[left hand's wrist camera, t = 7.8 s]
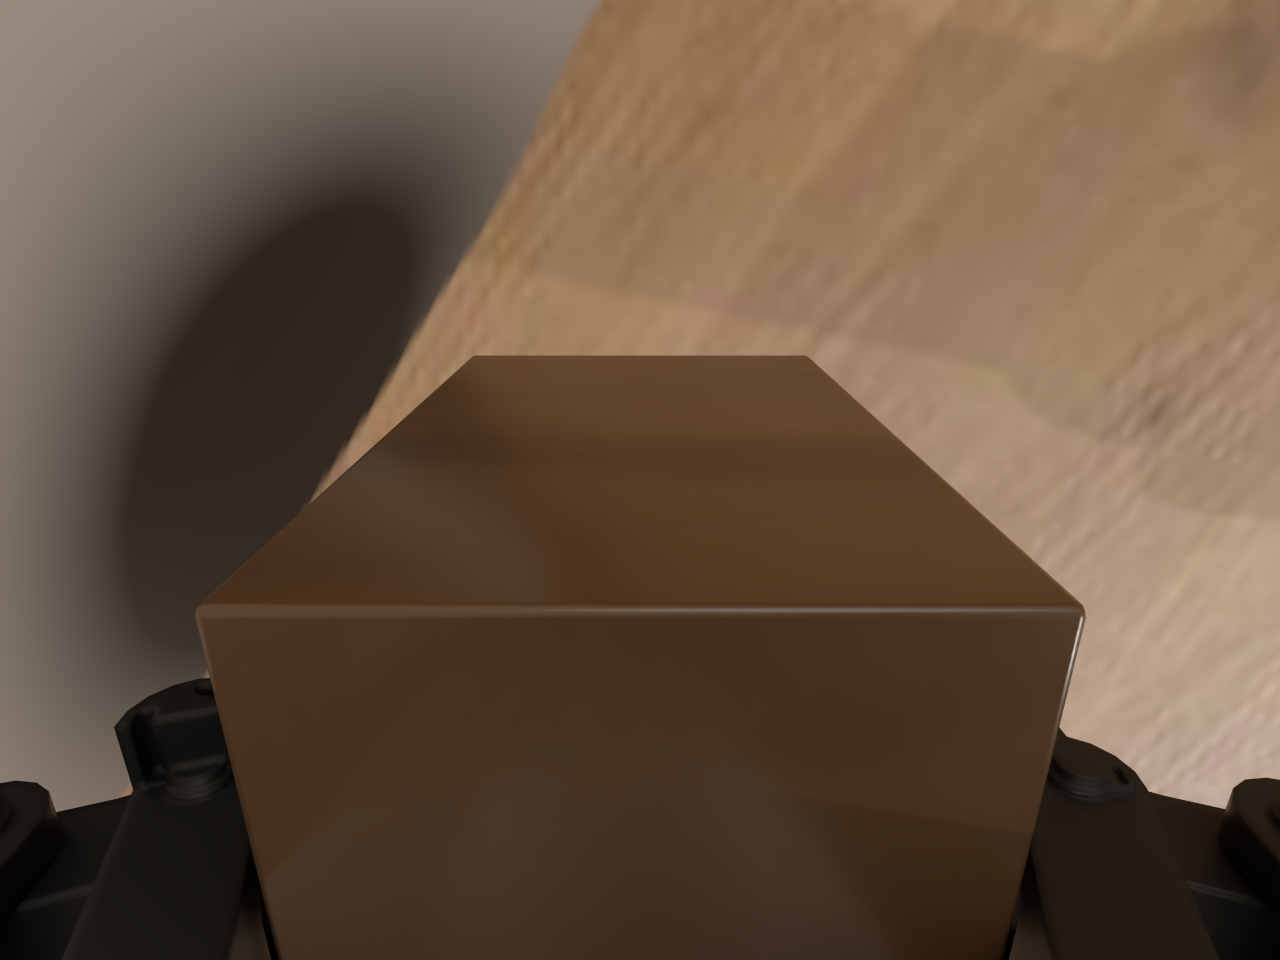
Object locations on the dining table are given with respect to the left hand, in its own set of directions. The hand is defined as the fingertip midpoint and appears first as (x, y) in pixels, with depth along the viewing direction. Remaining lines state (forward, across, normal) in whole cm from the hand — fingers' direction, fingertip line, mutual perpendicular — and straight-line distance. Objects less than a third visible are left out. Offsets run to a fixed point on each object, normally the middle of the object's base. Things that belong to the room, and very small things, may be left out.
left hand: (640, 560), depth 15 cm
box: (+1, 0, -7) cm, 7 cm away
